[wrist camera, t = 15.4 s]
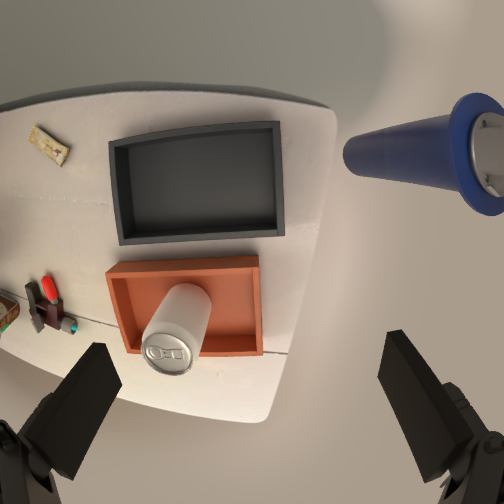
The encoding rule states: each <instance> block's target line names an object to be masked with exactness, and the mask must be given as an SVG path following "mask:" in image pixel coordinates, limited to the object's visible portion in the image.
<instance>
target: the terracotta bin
mask: <svg viewBox="0 0 504 504" xmlns="http://www.w3.org/2000/svg"><path fill="white" fill-rule="evenodd" d="M105 276H106V280H107V284H108V288H109V292H110V296H111V300H112V304H113V308H114V311H115V315H116V319H117V322H118V325H119V329H120V332H121V335H122V338H123V342H124V345H125V348H126V351H127V353H132V354H142V353H141V344H142V336H143V333H144V331H145V329H146V327H147V325H148V324H149V322H150V320H151V319H152V317H153V315H154V314H155V312H156V311H157V309H158V307H159V306H160V304H161V303H162V301H163V300H164V298H165V296H166V295H167V293H168V292H169V291H170V289H171V288H173V287H174V286H176V285H178V284H181V283H191V284H194V285H197V286H199V287H200V288H202V289H203V290H204V291H205V292H206V293H207V294H208V296H209V298H210V300H211V306H212V307H211V313H210V317H209V321H208V324H207V328H206V332H205V335H204V339H203V343H202V346H201V350H200V353H199V356H198V357H234V356H261V355H263V341H262V319H261V298H260V277H259V258H258V255H256V256H236V257H216V258H195V259H175V260H154V261H132V262H118V263H117V264H116V265H114V266H113V267H112V268H111V269H109V270H108V271H107V272H106V273H105Z"/></svg>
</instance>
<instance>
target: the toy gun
mask: <svg viewBox="0 0 504 504" xmlns="http://www.w3.org/2000/svg"><path fill="white" fill-rule="evenodd" d="M41 283H42V286H43V289H44V291H45V294H46V296H47V299H48V300H50V302H48V301H46V300H44V299H41V297H40V293H39V289H38V286H37V285H36V284H35V283H32V282H29V283H27V284H26V285H25V289H26V293H27V296H28V300H29V306H30V309H29V312H30V314H31V316H32V317H33V318H31V319H30V320H31V322H32V324H33V326H34V328H35V330H36V332H37V333H39V332H40V331H41V330H42V329H43V328H44V327H45V326H44V324H47V325H49V326H51V327H53V328H55V329H57V330H60V329H62V330H63V331H65V332H67V333H70V334H72V335H73V334H75V332H76V330H78V329H77V326H78V324H77V322H76V321H74V320H72V319H70V318H68V317H64V313H63V301H61V300H58V299H57V297H58V294H57V292H56V289H55V286H54V284H53V281H52V278H51V277H50V276H44V277H43V278H42V280H41Z"/></svg>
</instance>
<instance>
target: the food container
mask: <svg viewBox="0 0 504 504" xmlns="http://www.w3.org/2000/svg"><path fill="white" fill-rule="evenodd" d="M19 312H20V306H19V303H18V302H16V301H14V300H11V299H9V298H7V297H5V296H3V295H1V294H0V338H1V333H2V332H3V331H4V330H5V329H6V328H7V327H8V326H9V325H10V324H11V323H12V322H13V321H14V320H15V319H16V318H17V317H18V315H19Z"/></svg>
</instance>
